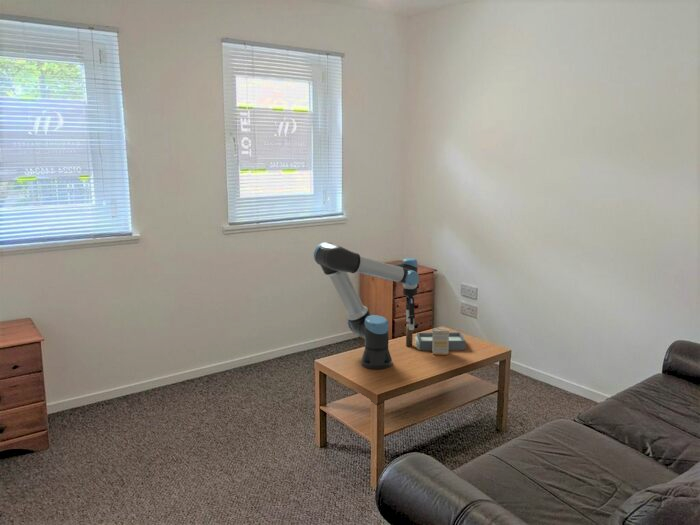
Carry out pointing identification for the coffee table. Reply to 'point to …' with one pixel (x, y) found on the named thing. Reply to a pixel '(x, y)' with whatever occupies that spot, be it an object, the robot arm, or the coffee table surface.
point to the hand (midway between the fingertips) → (410, 325)
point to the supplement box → (440, 341)
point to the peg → (409, 336)
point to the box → (455, 341)
